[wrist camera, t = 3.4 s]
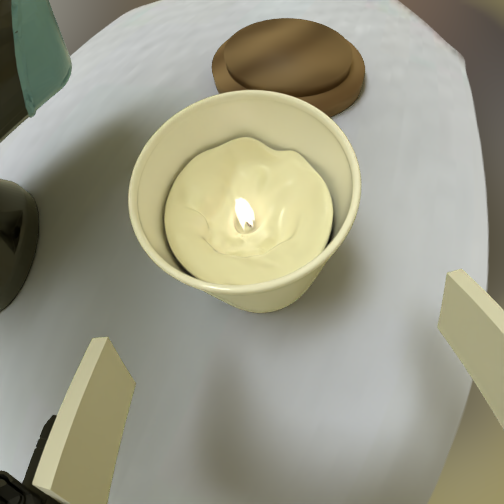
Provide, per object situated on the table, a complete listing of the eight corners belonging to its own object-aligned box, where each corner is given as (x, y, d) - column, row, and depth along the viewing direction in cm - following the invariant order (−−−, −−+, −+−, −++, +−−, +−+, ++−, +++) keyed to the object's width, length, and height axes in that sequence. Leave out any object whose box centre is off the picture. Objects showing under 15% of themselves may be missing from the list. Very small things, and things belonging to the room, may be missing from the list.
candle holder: (225, 186, 26) (187, 78, 15) (341, 220, 24) (378, 116, 13) (178, 296, 23) (90, 244, 12) (302, 342, 22) (322, 332, 10)
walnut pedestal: (185, 85, 31) (177, 62, 27) (275, 23, 33) (273, 2, 30) (308, 150, 26) (310, 125, 23) (385, 69, 29) (391, 47, 26)
